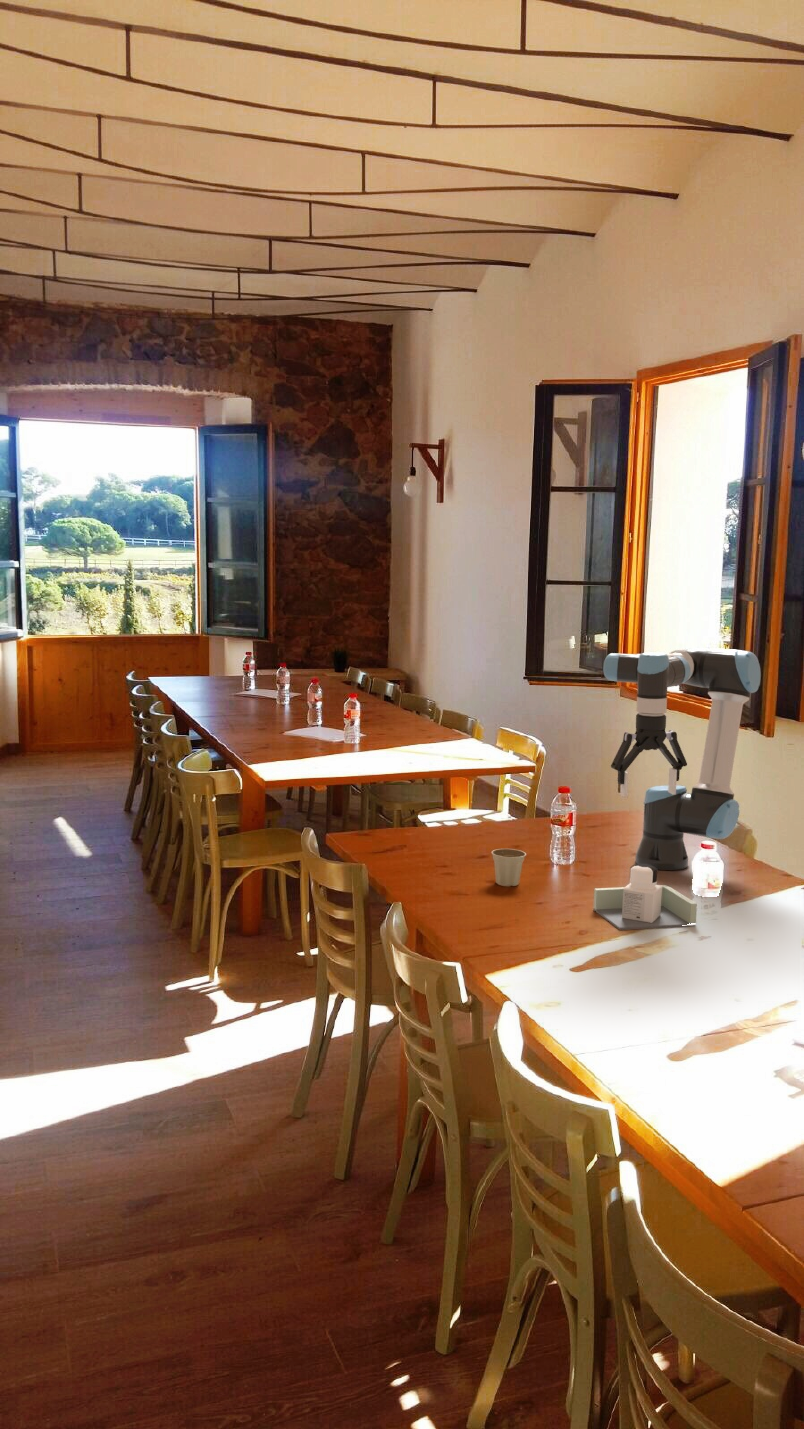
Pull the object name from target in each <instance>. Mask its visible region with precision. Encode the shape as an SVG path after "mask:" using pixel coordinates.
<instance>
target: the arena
mask: <svg viewBox="0 0 804 1429" xmlns="http://www.w3.org/2000/svg"><path fill="white" fill-rule="evenodd" d="M660 885H661V884H660ZM661 886H662V896H661V913H660V916H659V917H658V918H657V919H656V920H655V921H654V922H652V923H648V922H642V921H637V920H631V919H625V918H622V906H623V889H624V888H625V887H626V886H623V887H622V886H621V887H601V888H600V887H599V888H594V889H593V908H592V909H593V911H594V912H595V911H596V912H595V913H596V914H598V915H599V916H600V917H602V918H603V919H604V920H606V921H607V922H608V921H609V923H610V924H611V925H612V926H614V927H615V928H616V929H618V930H619V931H628V930H629V931H630V930H648V929H649V930H650V929H667V928H677V927H676V926H682V925H687V924H689V923H690V924H691V923H696V924H697V909H698V908H697V907H698V904H697V902H695V901H694V900H692V899H690V898H688V897H687V896H685V895H684V894H682V893H680V892H679V891H677V890H676V889H674V888H672V887H671V886H669V885H668V884H666V885H665V884H664V885H661Z"/></svg>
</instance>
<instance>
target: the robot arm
mask: <svg viewBox="0 0 804 1429" xmlns="http://www.w3.org/2000/svg"><path fill="white" fill-rule="evenodd" d="M602 668H603V669H602V671H603V675H604V678H606V680H607V681H611V682H613V681H614V682H617V683H630V684H632V683H633V684H636V686H637V687H636V688H637V690H636V691H637V693H636V710H635V711H636V712H637V714H636V715H635V733H629V732H624V733H623V739H622V742H621V745H620V746H619V749H618V750H617V752H616V754H615V756H614V758H613V761H612V762H611V765H610V768H612V769H614V770H615V771H617V783H618V784H619V785H620V790H619V792H620V793H619V796H621V797H623V798H628V796H629V794H628V793H629V792H628V791H629V772H628V771H627V770H628V768H629V767H630V766H631V765H632V763H633V762H634V761H635V760H636V758H637V757H638V756H639V755H640V753H642V752H643V751H651V750H653V751H657V750H659V751H660V752H661V754H662V755H663V756H664V757H665V759H666V760H667V762H668V763H669V765H671V766H672V767H669V768H668V784H667V785H656V786H651V787H649V788H647V790H645V794H644V802H643V804H644V806H643V822H642V823H643V824H642V826H643V827H642V838H641V839H640V842H639V845H638V848H637V850H636V852H635V856H634V857H635V858H634V859H635V860H634V861H635V864H648V865H652V866H654V867H656V869H657V870H659V871H661V870H662V871H678V870H683V869H686V868H688V866H689V856H688V853H687V850H686V846H685V842H684V834H687V835H693V836H699V837H705V838H708V839H716V840H717V839H718V840H724V839H726V838H728V837H729V836H730V835H732V833H733V832H734V830H735V828H736V827H737V826H736V825H737V823H738V822H739V821H738V820H739V817H740V803H739V801H737V800H736V799H735V798H734V797H735V793H734V791H733V790H732V789H731V780H732V775H733V768H734V763H735V756H736V750H737V743H738V737H739V731H740V725H741V718H742V712H743V707H744V704H745V703H747V702H748V701H750V698H751V694H754V693H756V692H757V691H758V690H759V687H760V685H761V676H762V674H761V665H760V663H759V659H758V657H757V655H756V654H754V652H752V651H749V650H743V649H742V650H741V649H728V648H727V649H725V648H711V647H697V648H689V649H686V648H685V649H676V650H673V651H671V652H669V653H665V652H656V651H655V652H654V651H653V652H652V651H651V652H643V653H642V652H641V653H621V652H618V653H615V652H614V653H613V652H611V653H609V654H607V656H606V657H605V659H604V661H603V667H602ZM682 684H684V685H688V686H692V687H699V688H705V689H708V691H707V695H708V696H709V697H710V698H711V706H710V712H709V717H708V718H709V719H708V725H707V732H706V736H705V743H704V749H703V755H702V761H701V767H700V774H699V780H698V782H697V783H696V784H694V785H692V789H691V792H687V791H688V789H687V787H686V786H683V785H677V782H679V780H680V772H681V771H680V770H682V769H683V768H684V767H687V766H688V762H687V759H686V757H685V755H684V753H683V751H682V748H681V745H680V744H679V741H678V733H677V732H676V731H674V730H668V731H666V726H667V715H666V713H667V712H668V711H667V708H668V707H667V705H668V704H667V703H668V688H670V687H671V688H672V687H678V686H680V685H682ZM666 739H667V740H668V742H669V745H670V747H671V749H672V752H673V754H674V755H673V754H672V752H671V751H670V750H669V749H668V747H667V745H666V744H665V743H664V741H665V740H666ZM634 740H635V741H636V742H635V743H634V744H633V746H632V748H631V749H630V747H631V745H632V742H633V741H634ZM629 749H630V751H629ZM628 751H629V752H628ZM674 756H675V757H674Z"/></svg>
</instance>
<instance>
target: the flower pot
mask: <svg viewBox="0 0 804 1429" xmlns="http://www.w3.org/2000/svg"><path fill="white" fill-rule="evenodd" d="M490 853H491V855H492V859H493V863H494V873H495V883H496V884H497V885H498V886H502V887H511V886H512V887H516V886H518V885H519V883H520V877H521V874H522V868H523V862H524V861H525V857H526V856H527V853H526V852H524V851H523V850H519V849H513V848H498V849H494V850H492V851H491V852H490Z"/></svg>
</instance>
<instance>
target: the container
mask: <svg viewBox="0 0 804 1429" xmlns="http://www.w3.org/2000/svg"><path fill="white" fill-rule="evenodd" d="M629 871H630V872H629V883H628V884H627V885H626V886H624V887H625V888H624V889H623V906H622V918H625V919H631V920H637V921H642V922H648V923H652V922H654V921H655V920H656V919H657V918H658V917H659V916H660V913H661V896H662V886H661V884H657V883H658V869H656V867H654V866H652V865H648V864H637V863H635V864H633V865H631V866H630V868H629Z"/></svg>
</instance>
